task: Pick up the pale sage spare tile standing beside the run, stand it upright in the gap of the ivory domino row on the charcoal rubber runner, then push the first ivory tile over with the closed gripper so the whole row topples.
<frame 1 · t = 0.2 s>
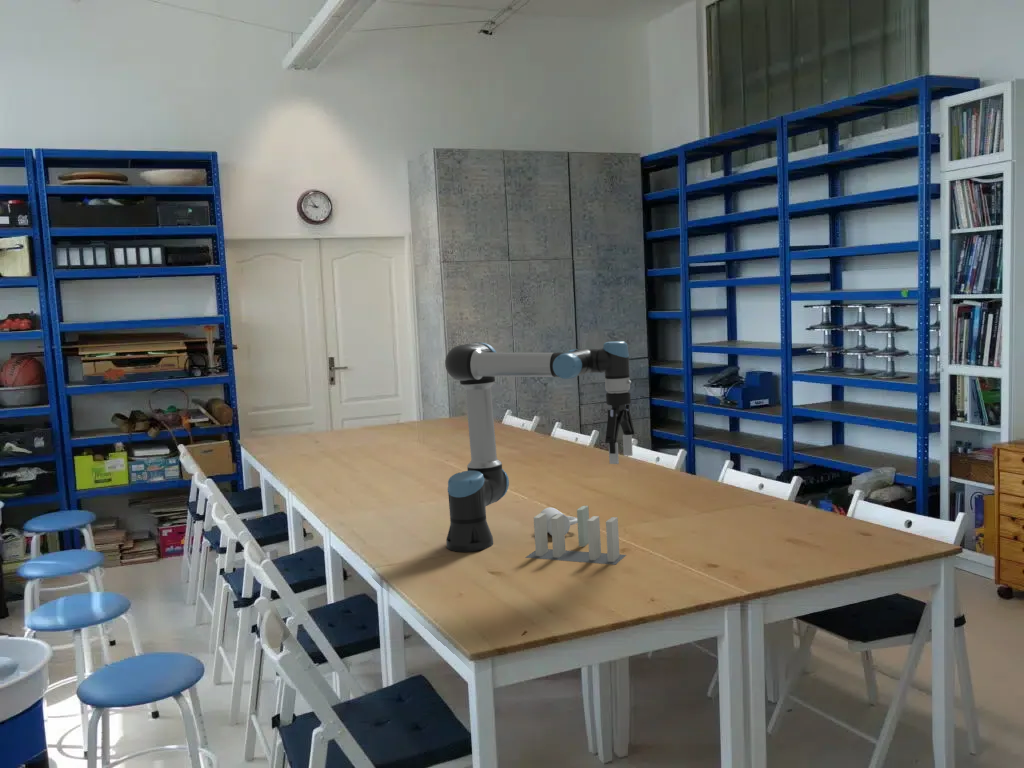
hand: (621, 459, 283), 27 cm above the table, fingers open, 13 cm apart
runner: (575, 557, 275), on the table
mug: (560, 533, 304), on the table
tile 2: (559, 554, 278), resting on runner
tile 4: (595, 557, 273), resting on runner
spare tile: (584, 545, 288), on the table
tile 5: (613, 559, 270), resting on runner
tile 1: (542, 553, 280), resting on runner
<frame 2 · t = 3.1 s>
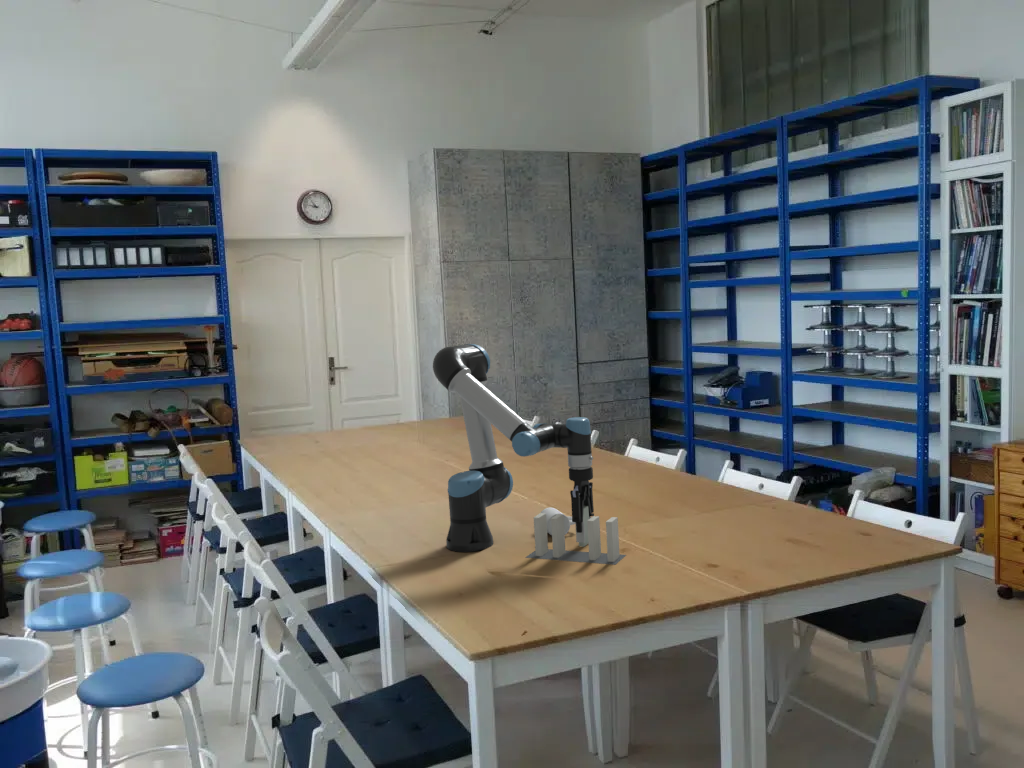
hand: (584, 539, 288), 2 cm above the table, fingers closed on spare tile, 5 cm apart
spare tile: (584, 545, 288), on the table, touching gripper
everything else where it was.
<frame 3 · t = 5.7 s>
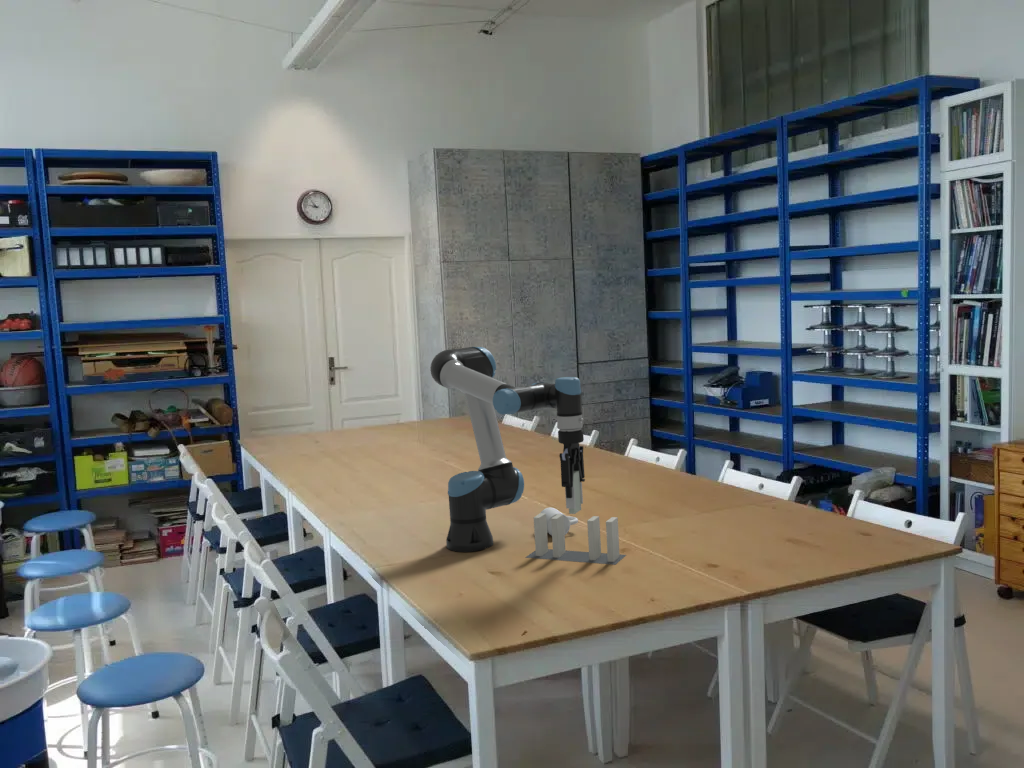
hand: (574, 505, 274), 16 cm above the table, fingers closed on spare tile, 5 cm apart
spare tile: (575, 511, 274), point 14 cm above the table, touching gripper
everything else where it was.
when the fingers open (3 cm above the table, at t = 8.3 s): spare tile stays where it is, resting on runner.
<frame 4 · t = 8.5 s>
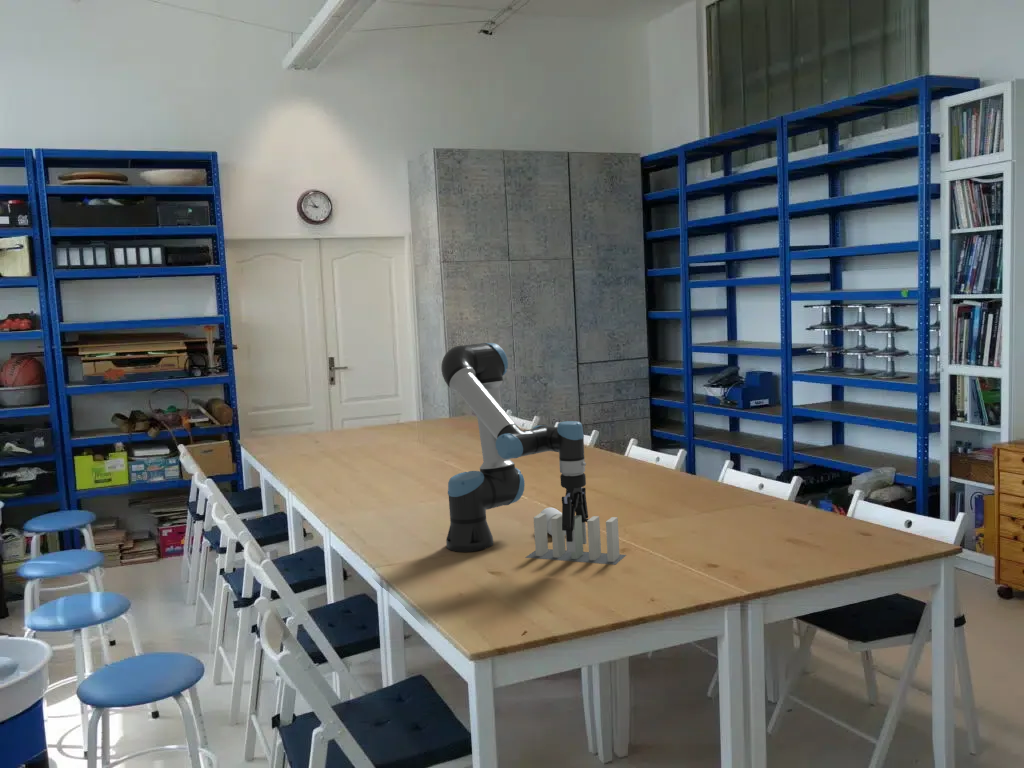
hand: (576, 547, 275), 3 cm above the table, fingers open, 8 cm apart
spare tile: (577, 556, 275), resting on runner
everything else where it was.
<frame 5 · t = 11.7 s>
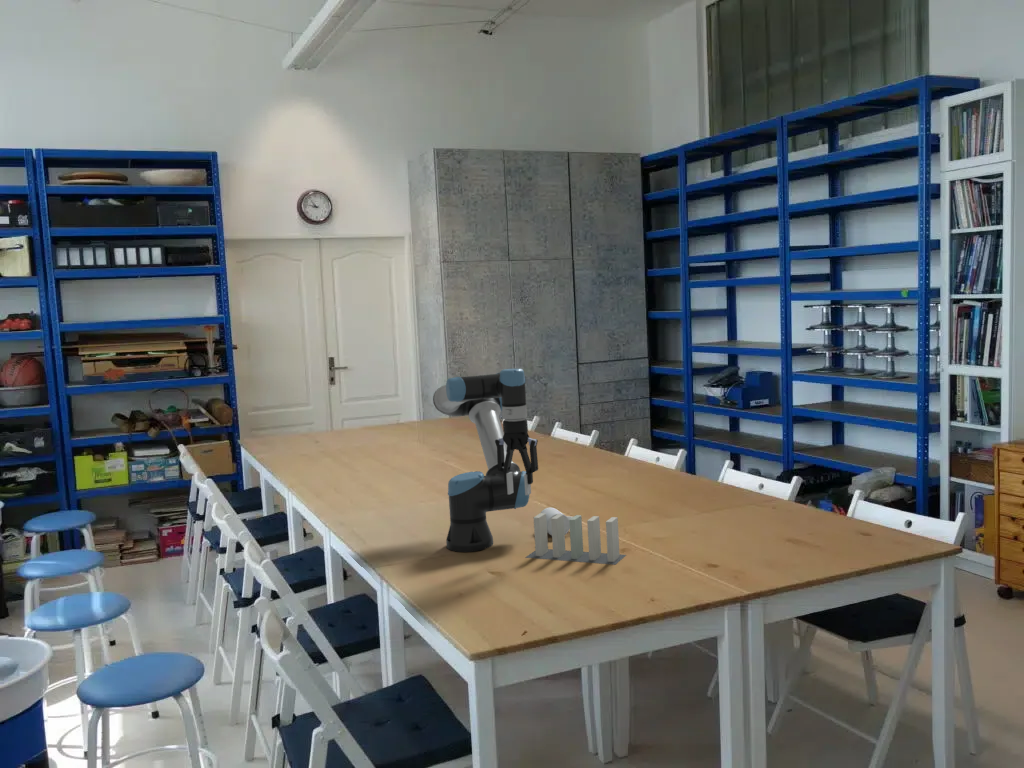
hand: (519, 493, 281), 19 cm above the table, fingers open, 5 cm apart
nothing on the table moved.
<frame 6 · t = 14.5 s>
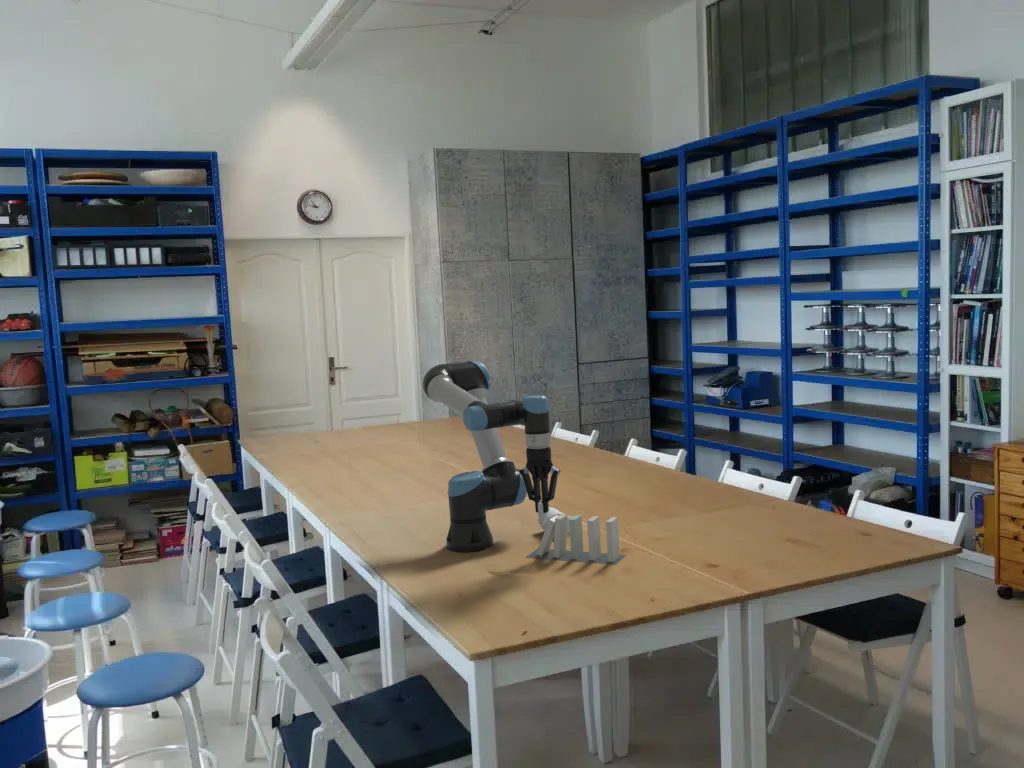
hand: (542, 522, 279), 10 cm above the table, fingers closed
tile 2: (559, 554, 278), resting on runner, tilted 6°
tile 1: (542, 552, 280), point 1 cm above the table, tilted 25°, touching runner
everything else where it was.
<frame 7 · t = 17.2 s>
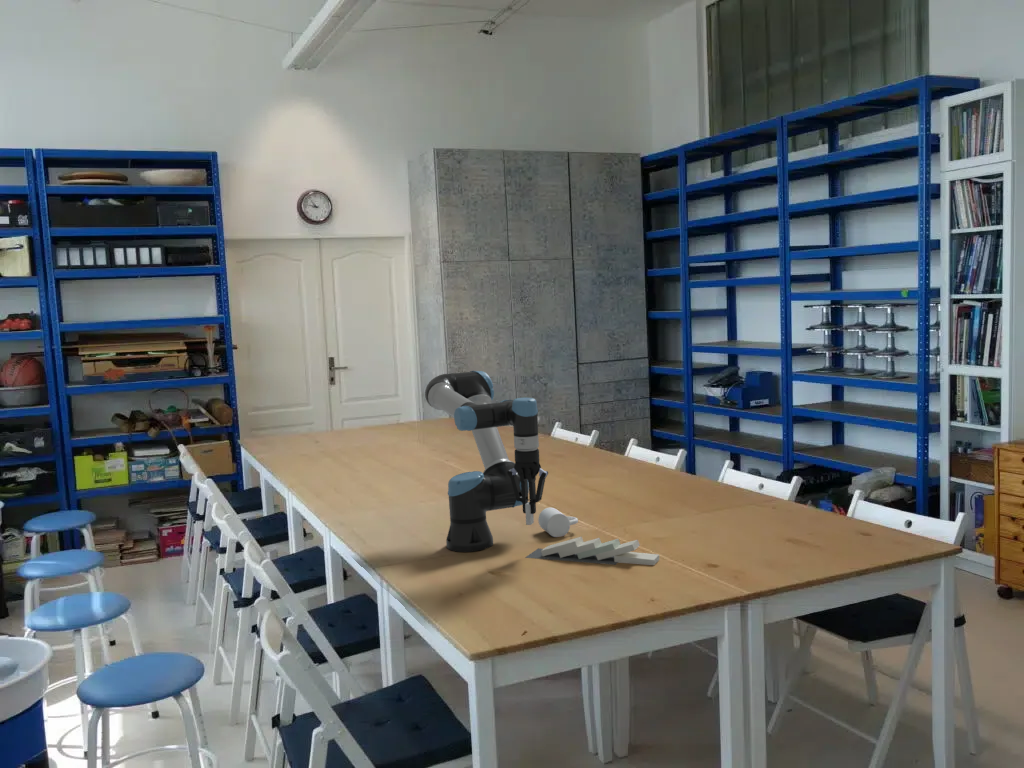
hand: (529, 523, 282), 9 cm above the table, fingers closed
tile 2: (562, 552, 277), point 1 cm above the table, tilted 72°, touching runner, spare tile, tile 1
tile 4: (599, 554, 272), point 1 cm above the table, tilted 72°, touching spare tile, tile 5
spare tile: (581, 553, 275), point 1 cm above the table, tilted 72°, touching runner, tile 2, tile 4
tile 5: (617, 556, 270), point 1 cm above the table, tilted 92°, touching runner, tile 4
tile 1: (545, 551, 280), point 1 cm above the table, tilted 72°, touching tile 2
everything else where it was.
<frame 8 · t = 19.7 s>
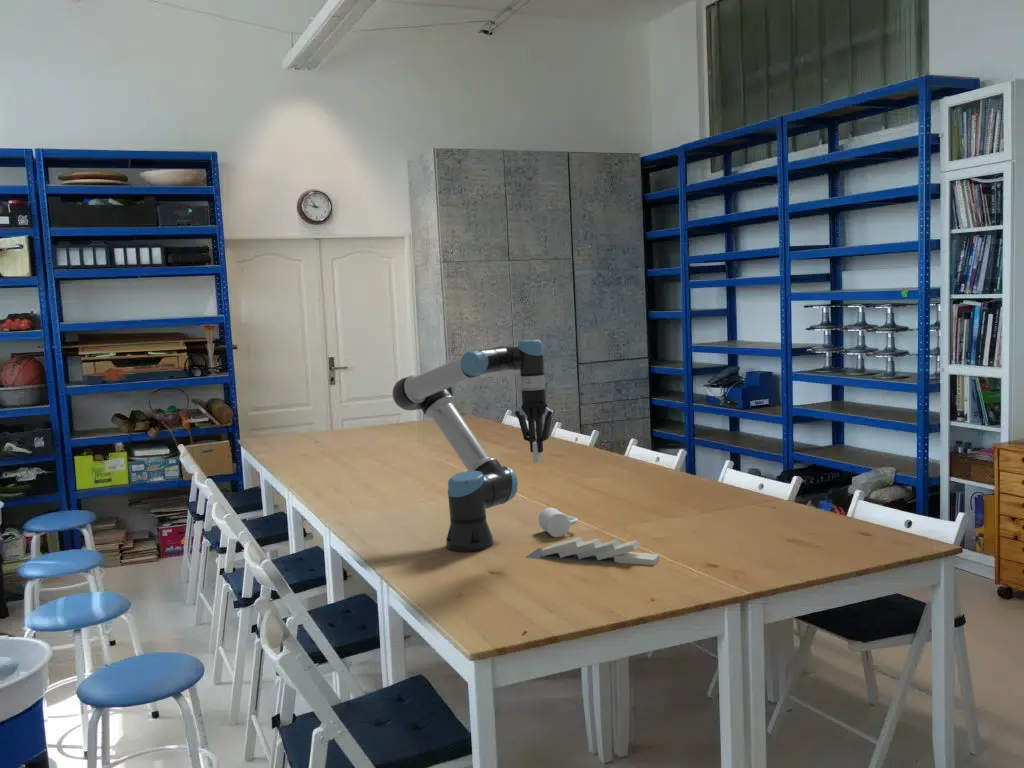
hand: (537, 462, 290), 26 cm above the table, fingers closed
nothing on the table moved.
at the end: tile 5 tilted 92°; spare tile tilted 72°; spare tile inside the target area (1.6 cm from its centre), point 1.2 cm above the table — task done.
